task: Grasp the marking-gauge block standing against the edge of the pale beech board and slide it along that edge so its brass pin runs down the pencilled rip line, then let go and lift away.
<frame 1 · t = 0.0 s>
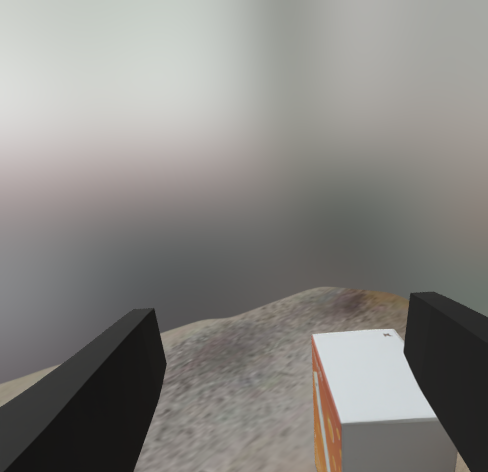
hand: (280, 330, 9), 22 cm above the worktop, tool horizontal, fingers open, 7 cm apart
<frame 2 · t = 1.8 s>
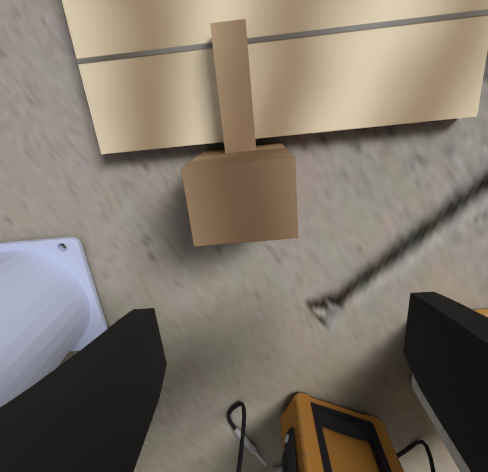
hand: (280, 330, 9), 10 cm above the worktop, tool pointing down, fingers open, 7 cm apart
board: (275, 39, 15), on the worktop
gauge: (245, 174, 17), on the worktop
multimeter: (309, 442, 25), on the worktop
small box: (472, 343, 21), on the worktop
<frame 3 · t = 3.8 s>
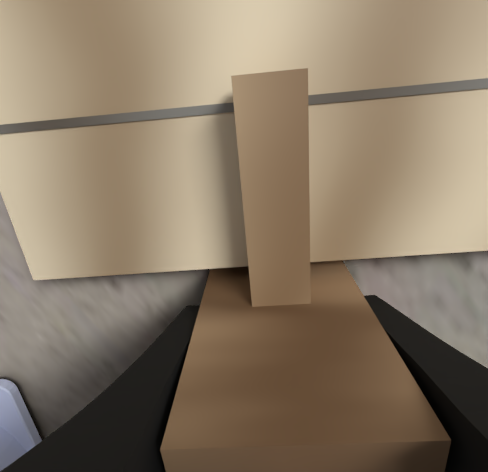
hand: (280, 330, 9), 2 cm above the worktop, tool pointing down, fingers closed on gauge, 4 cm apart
board: (342, 91, 8), on the worktop
gauge: (276, 299, 10), on the worktop, touching gripper
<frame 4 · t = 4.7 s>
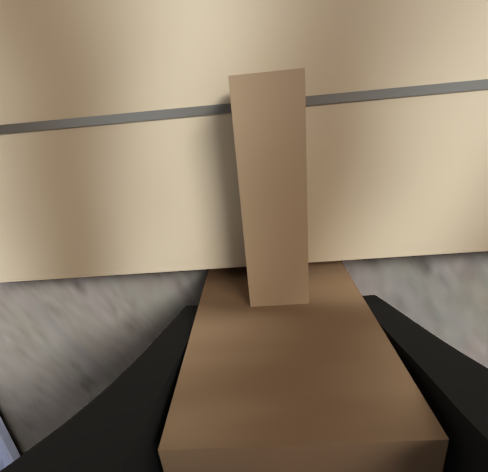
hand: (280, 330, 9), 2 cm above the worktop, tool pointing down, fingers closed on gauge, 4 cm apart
board: (294, 97, 8), on the worktop
gauge: (275, 299, 10), on the worktop, touching gripper
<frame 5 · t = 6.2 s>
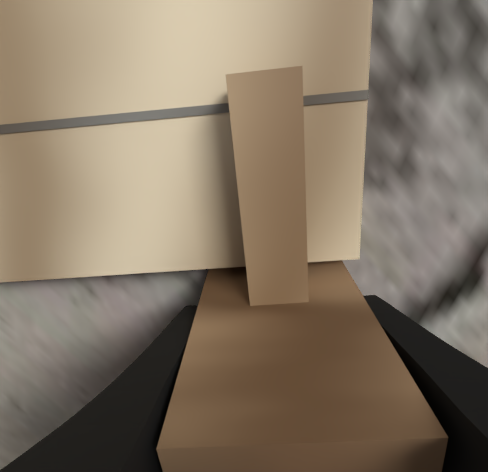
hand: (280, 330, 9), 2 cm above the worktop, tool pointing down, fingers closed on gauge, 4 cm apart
board: (20, 122, 9), on the worktop
gauge: (275, 298, 10), on the worktop, touching gripper
when the fingers open (2 cm above the worktop, at t = 7.6 s): gauge stays where it is, on the worktop.
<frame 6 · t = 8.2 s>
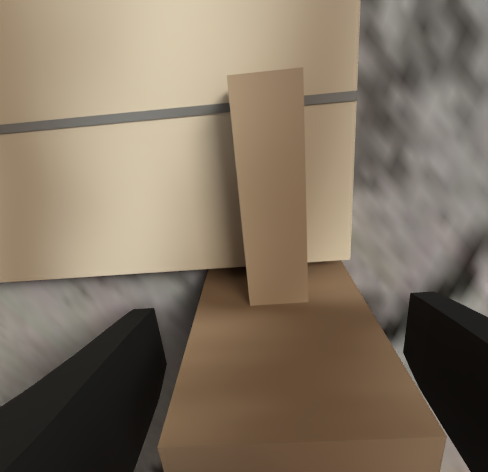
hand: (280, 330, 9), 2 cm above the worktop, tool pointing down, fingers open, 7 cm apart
board: (11, 123, 9), on the worktop
gauge: (275, 298, 10), on the worktop
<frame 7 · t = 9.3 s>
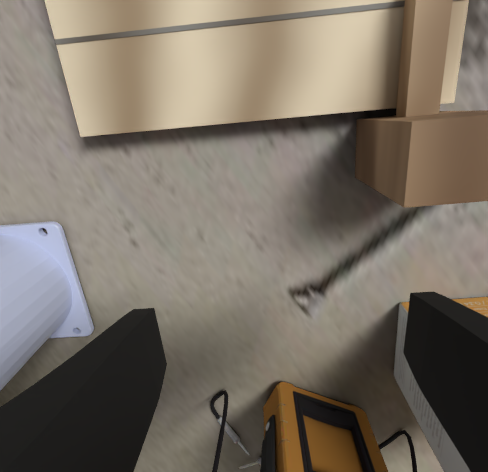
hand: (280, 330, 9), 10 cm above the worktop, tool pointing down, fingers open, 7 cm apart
board: (254, 23, 15), on the worktop
gauge: (394, 145, 17), on the worktop
multimeter: (292, 432, 25), on the worktop
small box: (453, 333, 21), on the worktop
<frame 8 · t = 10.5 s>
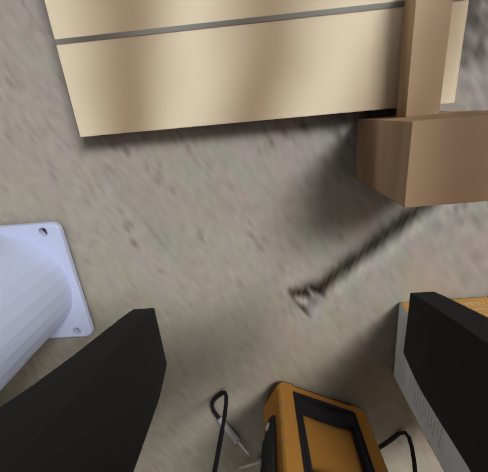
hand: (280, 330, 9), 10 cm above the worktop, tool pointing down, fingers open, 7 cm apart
board: (254, 23, 15), on the worktop
gauge: (394, 145, 17), on the worktop
multimeter: (292, 433, 25), on the worktop
small box: (453, 333, 21), on the worktop
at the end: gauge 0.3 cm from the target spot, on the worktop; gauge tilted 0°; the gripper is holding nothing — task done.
